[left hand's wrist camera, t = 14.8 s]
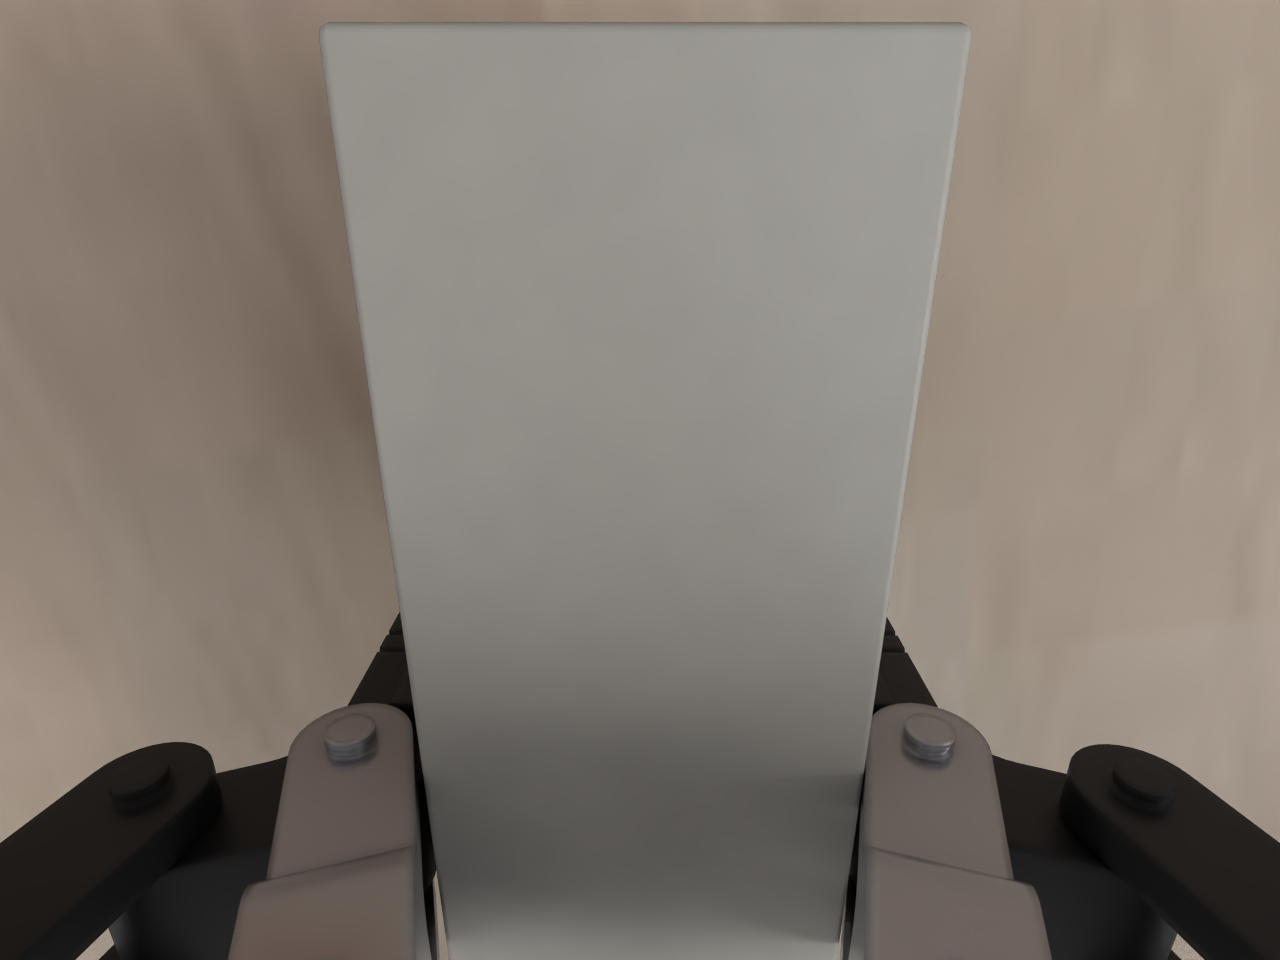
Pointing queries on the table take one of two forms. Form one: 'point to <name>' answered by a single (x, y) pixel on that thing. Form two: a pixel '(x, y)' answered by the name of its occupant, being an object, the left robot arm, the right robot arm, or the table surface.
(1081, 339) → the table surface
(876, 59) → the bar
